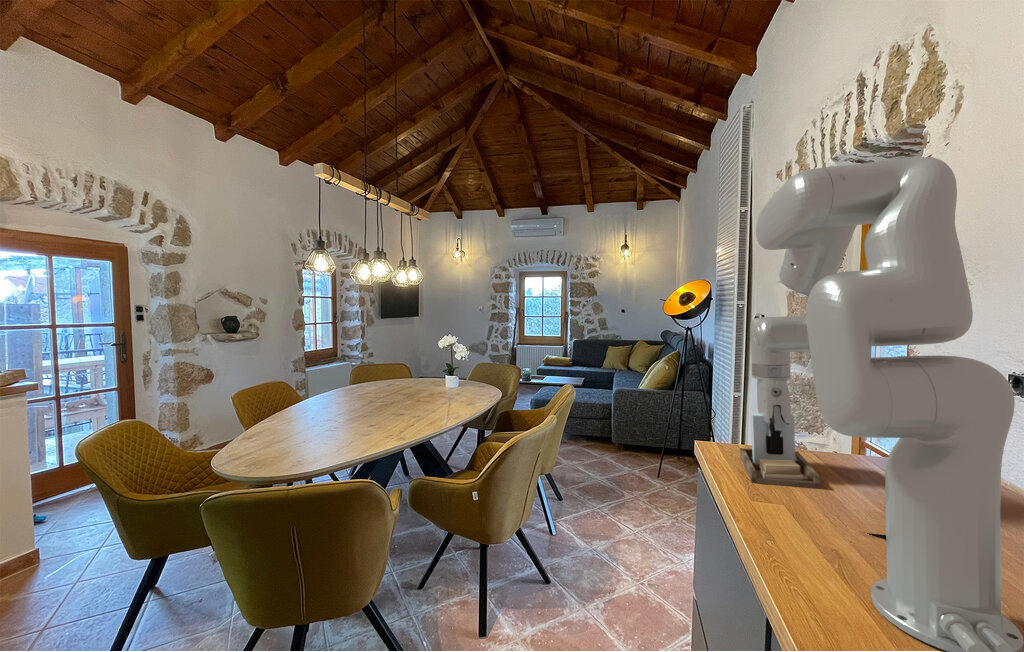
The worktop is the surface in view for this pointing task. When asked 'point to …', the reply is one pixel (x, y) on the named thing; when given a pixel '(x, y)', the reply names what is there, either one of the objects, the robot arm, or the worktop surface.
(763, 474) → the offcut low
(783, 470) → the offcut top
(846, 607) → the worktop surface
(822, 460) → the worktop surface
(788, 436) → the board
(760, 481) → the rack
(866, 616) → the worktop surface
